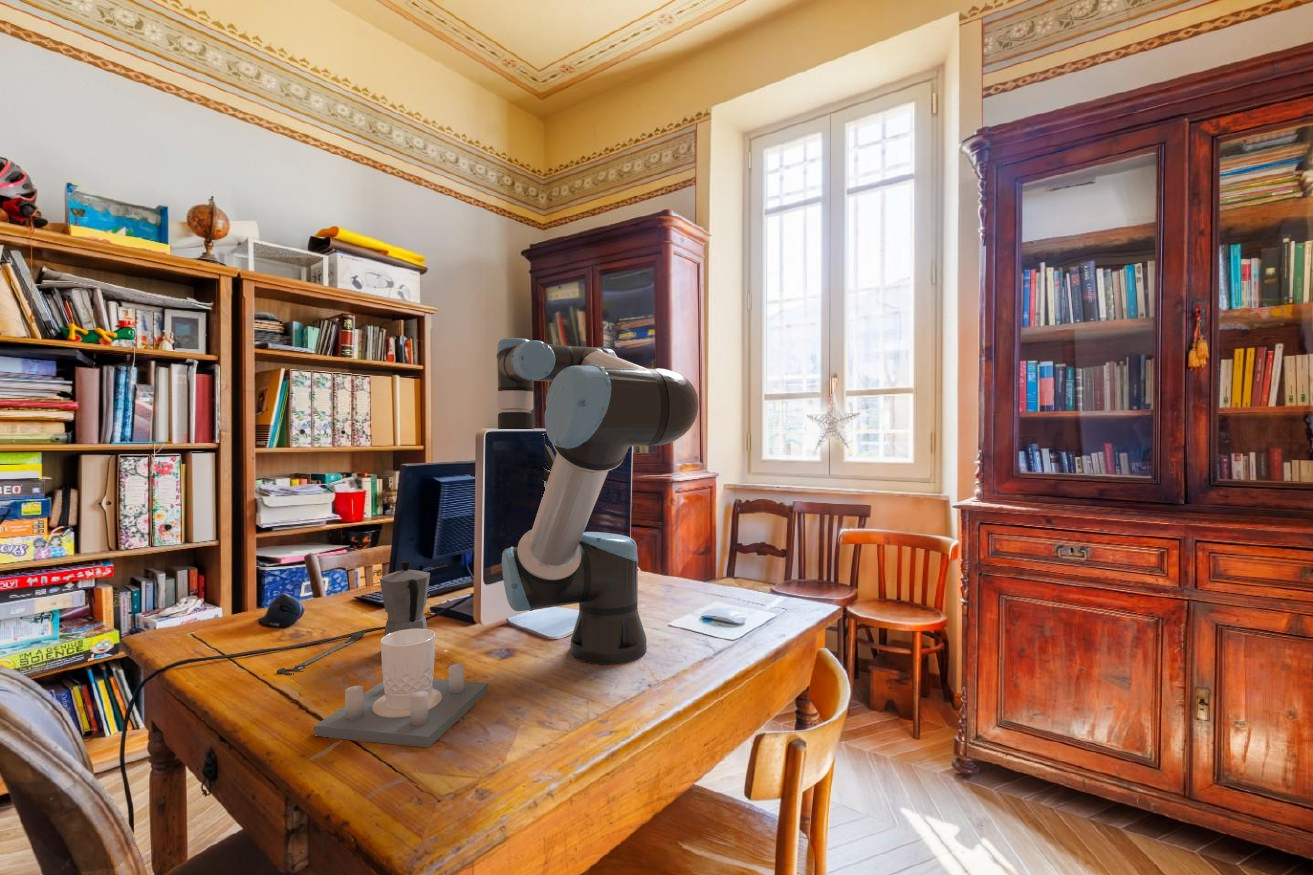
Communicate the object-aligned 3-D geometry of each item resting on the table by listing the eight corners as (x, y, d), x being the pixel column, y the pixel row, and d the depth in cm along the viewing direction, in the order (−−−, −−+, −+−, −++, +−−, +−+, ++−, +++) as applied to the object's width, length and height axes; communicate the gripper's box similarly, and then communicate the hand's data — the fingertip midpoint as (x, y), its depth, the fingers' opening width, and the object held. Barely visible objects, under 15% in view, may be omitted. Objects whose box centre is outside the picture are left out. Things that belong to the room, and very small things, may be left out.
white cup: (391, 690, 97) (391, 629, 97) (441, 688, 98) (441, 627, 97) (372, 713, 89) (372, 646, 89) (427, 711, 90) (426, 644, 90)
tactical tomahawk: (305, 683, 107) (305, 677, 107) (274, 676, 108) (274, 670, 108) (384, 641, 127) (384, 635, 127) (357, 635, 129) (358, 630, 129)
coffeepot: (375, 645, 122) (374, 558, 122) (423, 637, 128) (423, 552, 127) (388, 670, 110) (387, 572, 109) (441, 660, 115) (440, 566, 115)
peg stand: (488, 691, 100) (487, 659, 100) (428, 747, 83) (428, 707, 83) (391, 684, 104) (390, 652, 104) (314, 736, 86) (313, 698, 86)
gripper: (576, 411, 130) (577, 509, 130) (470, 412, 135) (471, 507, 135) (565, 410, 123) (566, 513, 123) (453, 411, 127) (453, 511, 128)
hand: (516, 510), depth 129 cm, fingers open, 13 cm apart
